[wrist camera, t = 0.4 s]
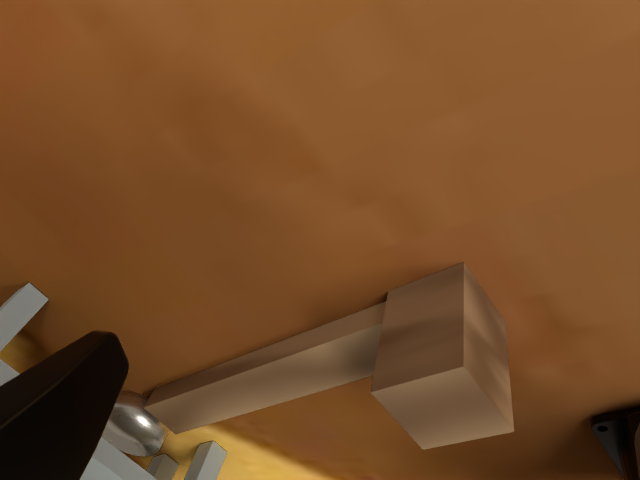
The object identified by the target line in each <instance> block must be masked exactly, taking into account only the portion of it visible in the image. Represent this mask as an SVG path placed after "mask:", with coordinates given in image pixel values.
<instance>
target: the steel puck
mask: <svg viewBox="0 0 640 480" xmlns="http://www.w3.org/2000/svg"><path fill="white" fill-rule="evenodd" d="M148 399H149V398H148V397H146V396H144V395H142V394H139V393H136V392H132V391H120V393H119V396H118V398H117V401H116V403H115V405H114V408H113V410H112V413H111V415H110V417H109V420H108V422H107V425H106V427H105V429H104V432H103V434H102V438H104V439H105V440H106V441H108V442H109V443H110V444H112V445H113V446H114V447H115V448H117V449H118V450H120V451H123V452H125V453H128V454H131V455H136V456H152V455H155V454H157V453H158V452H159V450H160V448H161V446H162V444H163V442H164V440H165V438H166V436H167V434H168V432H169V430H170V429H169V428H167V427H166V426H165V425H164V424H163V423H161V422H160V421H159V420H158V419H157V418H155V417H154V416H153V415H152V414H150V413H149V412H148V411H147V410H146V409H144V406H145V404H146V403H147V401H148Z"/></svg>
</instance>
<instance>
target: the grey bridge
mask: <svg viewBox="0 0 640 480" xmlns="http://www.w3.org/2000/svg"><path fill="white" fill-rule="evenodd" d="M48 300H49V299H48V298H46V297H45V296H44V295H43V294H42V293H41V292H39V291H38V290H37V289H36V288H35V287H34V286H32V285H31V284H30V283H28V284H26V285H25V286H23V287H22V288H20V289H19V290H18V291H16V292H15V293H14V294H13V295H12V296H11V297H10V298H9V299H8V300H7V301H6V302H5V303H4V304H3V305H2V306H1V307H0V351H1V350H2V349H3V348H4V347H5V346H6V345H7V344H8V343H9V342H10V341H11V340H12V339H13V337H14V336H15V335H16V334H17V333H18V332H19V331H20V330H21V329H22V328H23V327H24V326H25V325H26V323H27V322H28V321H29V320H30V319H31V318H32V317H33V316H34V315H35V314H36V313H37V312H38V311H39V310H40V308H41V307H42V306H43V305H44V304H45V303H46V302H47V301H48ZM18 375H19V373H18V372H17V371H15V370H14V369H13V368H11V367H10V366H9V365H8V364H6V363H5V362H4V361H2V360H1V359H0V386H1V385H3V384H4V383H6V382H8V381H9V380H11V379H13V378H14V377H16V376H18ZM226 454H227V452H226V451H225V450H224V449H222V448H221V447H220V446H219V445H218V444H217V443H216V442H214V441H210V442H207V443H203V444H200V445H199V447H198V449H197V451H196V454H195V456H194V458H193V460H192V462H191V465H190V467H189V469H188V471H187V474H186V476H185V478H184V480H216V479H217V477H218V474H219V472H220V469H221V467H222V464H223V462H224V459H225V457H226ZM178 465H179V464H177V463H176V462H175V461H174V460H172V459H171V458H170V457H169V456H167V455H166V454H163V455H159V456H155V457H153V459H152V461H151V463H150V464H149V466H148V468H147V470H146V471H145V470H144V469H143V468H141V467H140V466H139V465H138V464H136V463H135V462H134V461H132V460H131V459H130V458H128V457H127V456H126V455H125V454H123V453H122V452H121V451H119V450H118V449H117V448H115V447H114V446H113V445H112V444H110V443H109V442H108V441H106V440H105V439H104V438H102V437H101V439H100V441H99V443H98V445H97V448H96V450H95V452H94V454H93V456H92V458H91V460H90V462H89V463H88V465H87V467H86V469H85V471H84V473H83V475H82V477H81V478H80V480H172V478H173V476H174V474H175V472H176V470H177V467H178Z"/></svg>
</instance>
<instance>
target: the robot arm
mask: <svg viewBox="0 0 640 480" xmlns="http://www.w3.org/2000/svg"><path fill="white" fill-rule="evenodd" d="M128 369H129V364H128V360H127V357H126V355H125V353H124V350H123V348H122V346H121V343H120V341H119V339H118V337H117V335H115V334H114V333H112V332H106V331H92V332H90V333H88V334H86V335H85V336H83V337H81V338H80V339H78V340H76V341H75V342H73V343H71V344H70V345H68V346H66V347H65V348H63V349H61V350H60V351H58V352H56V353H55V354H53V355H51V356H50V357H48V358H46V359H45V360H43V361H41V362H39V363H38V364H36V365H34V366H33V367H31V368H29V369H28V370H26V371H24V372H23V373H21V374H19V375H18V376H16V377H14V378H13V379H11V380H9V381H8V382H6V383H4V384H3V385H1V386H0V480H80V478H81V477H82V475H83V473H84V471H85V469H86V467H87V465H88V463H89V462H90V460H91V458H92V456H93V454H94V452H95V450H96V448H97V445H98V443H99V441H100V439H101V437H102V434H103V432H104V429H105V427H106V425H107V422H108V420H109V417H110V415H111V413H112V410H113V408H114V405H115V403H116V401H117V398H118V396H119V393H120V391H121V389H122V386H123V384H124V381H125V379H126V377H127V374H128ZM590 422H591V427H592V431H593V432H594V434H595V435H596V437H597V438H598V439H599V441H600V442H601V444H602V445H603V447H604V448H605V450H606V451H607V453H608V454H609V456H610V457H611V459H612V460H613V462H614V463H615V465H616V466H617V467H618V469H619V470H620V472H621V473H622V475H623V476H624V479H625V480H640V408H637V409H632V410H627V411H622V412H617V413H612V414H607V415H602V416H597V417H594V418H593V419H591V421H590Z"/></svg>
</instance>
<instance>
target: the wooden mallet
mask: <svg viewBox="0 0 640 480" xmlns="http://www.w3.org/2000/svg"><path fill="white" fill-rule="evenodd" d="M370 376H373V381H372V386H371V392H370V393H371V394H372V395H373V396H374V397H375V398H376V399H377V400H378V401H379V402H380V403H381V405H382V406H383V407H384V408H385V409H386V410H387V411H388V412H389V413H390V414H391V416H392V417H393V418H394V419H395V420H396V421H397V422H398V423H399V424H400V425H401V426H402V428H403V429H404V430H405V431H406V432H407V433H408V434H409V435H410V436H411V437H412V439H413V440H414V441H415V442H416V443H417V444H418V445H419V446H420V447H421V448H422V449H423V450H424V449H430V448H435V447H440V446H445V445H450V444H455V443H460V442H465V441H470V440H475V439H480V438H485V437H490V436H495V435H500V434H505V433H510V432H514V422H513V411H512V399H511V387H510V375H509V363H508V352H507V340H506V328H505V320H504V319H503V318H502V316H501V315H500V313H499V312H498V310H497V309H496V307H495V306H494V305H493V303H492V302H491V300H490V299H489V297H488V296H487V294H486V293H485V292H484V290H483V289H482V287H481V286H480V284H479V283H478V281H477V280H476V279H475V277H474V276H473V274H472V273H471V271H470V270H469V269H468V267H467V266H466V264H465V263H464V262H462V263H460V264H457V265H455V266H452V267H449V268H447V269H444V270H442V271H439V272H437V273H434V274H431V275H429V276H426V277H424V278H421V279H419V280H416V281H413V282H411V283H408V284H406V285H403V286H401V287H398V288H396V289H393V290H390V291H388V295H387V301H385V302H383V303H380V304H377V305H375V306H372V307H369V308H367V309H364V310H362V311H359V312H356V313H354V314H351V315H348V316H346V317H343V318H340V319H338V320H335V321H333V322H330V323H327V324H325V325H322V326H319V327H317V328H314V329H311V330H309V331H306V332H304V333H301V334H298V335H296V336H293V337H290V338H288V339H285V340H282V341H280V342H277V343H275V344H272V345H269V346H267V347H264V348H261V349H259V350H256V351H253V352H251V353H248V354H245V355H243V356H240V357H238V358H235V359H232V360H230V361H227V362H224V363H222V364H219V365H216V366H214V367H211V368H209V369H206V370H203V371H201V372H198V373H195V374H193V375H190V376H187V377H185V378H182V379H180V380H177V381H174V382H172V383H169V384H166V385H164V386H161V387H158V388H156V389H154V390H153V392H152V394H151V396H150V397H149V399H148V401H147V403H146V404H145V406H144V409H146V410H147V411H148V412H149V413H150V414H152V415H153V416H154V417H155V418H157V419H158V420H159V421H160V422H161V423H163V424H164V425H165V426H166V427H167V428H169V429H170V430H171V431H172V432H173V433H175V434H178V433H181V432H185V431H188V430H191V429H195V428H198V427H202V426H205V425H208V424H212V423H215V422H218V421H222V420H225V419H228V418H232V417H235V416H239V415H242V414H245V413H249V412H252V411H255V410H259V409H262V408H265V407H269V406H272V405H276V404H279V403H282V402H286V401H289V400H292V399H296V398H299V397H303V396H306V395H309V394H313V393H316V392H319V391H323V390H326V389H329V388H333V387H336V386H340V385H343V384H346V383H350V382H353V381H356V380H360V379H363V378H366V377H370Z"/></svg>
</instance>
